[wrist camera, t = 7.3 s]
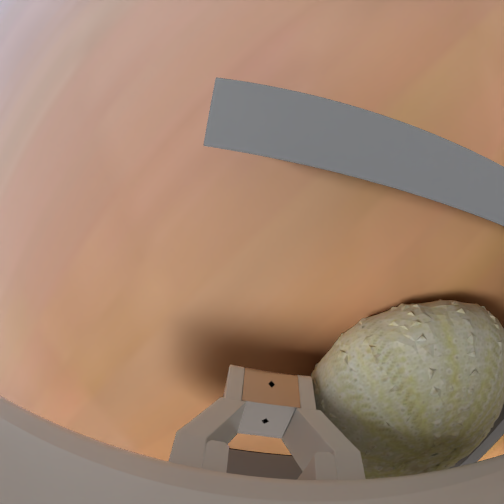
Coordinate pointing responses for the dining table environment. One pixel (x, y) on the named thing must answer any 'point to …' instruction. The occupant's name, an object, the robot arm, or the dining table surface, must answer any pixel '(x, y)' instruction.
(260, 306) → the dining table surface
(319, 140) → the bay
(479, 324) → the sea urchin shell
